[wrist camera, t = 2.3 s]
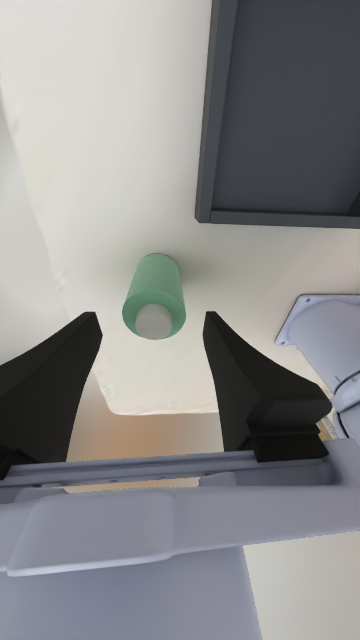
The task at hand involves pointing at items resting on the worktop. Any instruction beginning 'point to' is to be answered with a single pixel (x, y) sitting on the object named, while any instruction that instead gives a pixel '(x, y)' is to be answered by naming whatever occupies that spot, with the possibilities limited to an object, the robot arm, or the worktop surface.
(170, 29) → the worktop surface
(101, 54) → the worktop surface
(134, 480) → the robot arm
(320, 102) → the dark gray rectangular tray
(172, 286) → the mint green cylinder
